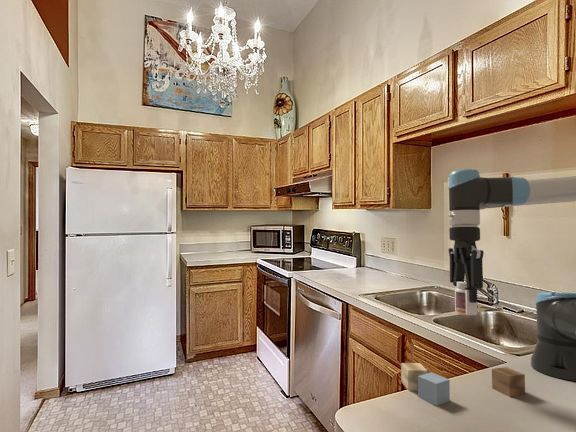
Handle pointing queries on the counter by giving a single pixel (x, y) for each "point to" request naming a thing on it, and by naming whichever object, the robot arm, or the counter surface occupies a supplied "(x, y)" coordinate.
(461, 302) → the pill bottle
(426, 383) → the slate blue cube
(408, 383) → the maple cube
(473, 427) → the counter surface
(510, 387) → the walnut cube
